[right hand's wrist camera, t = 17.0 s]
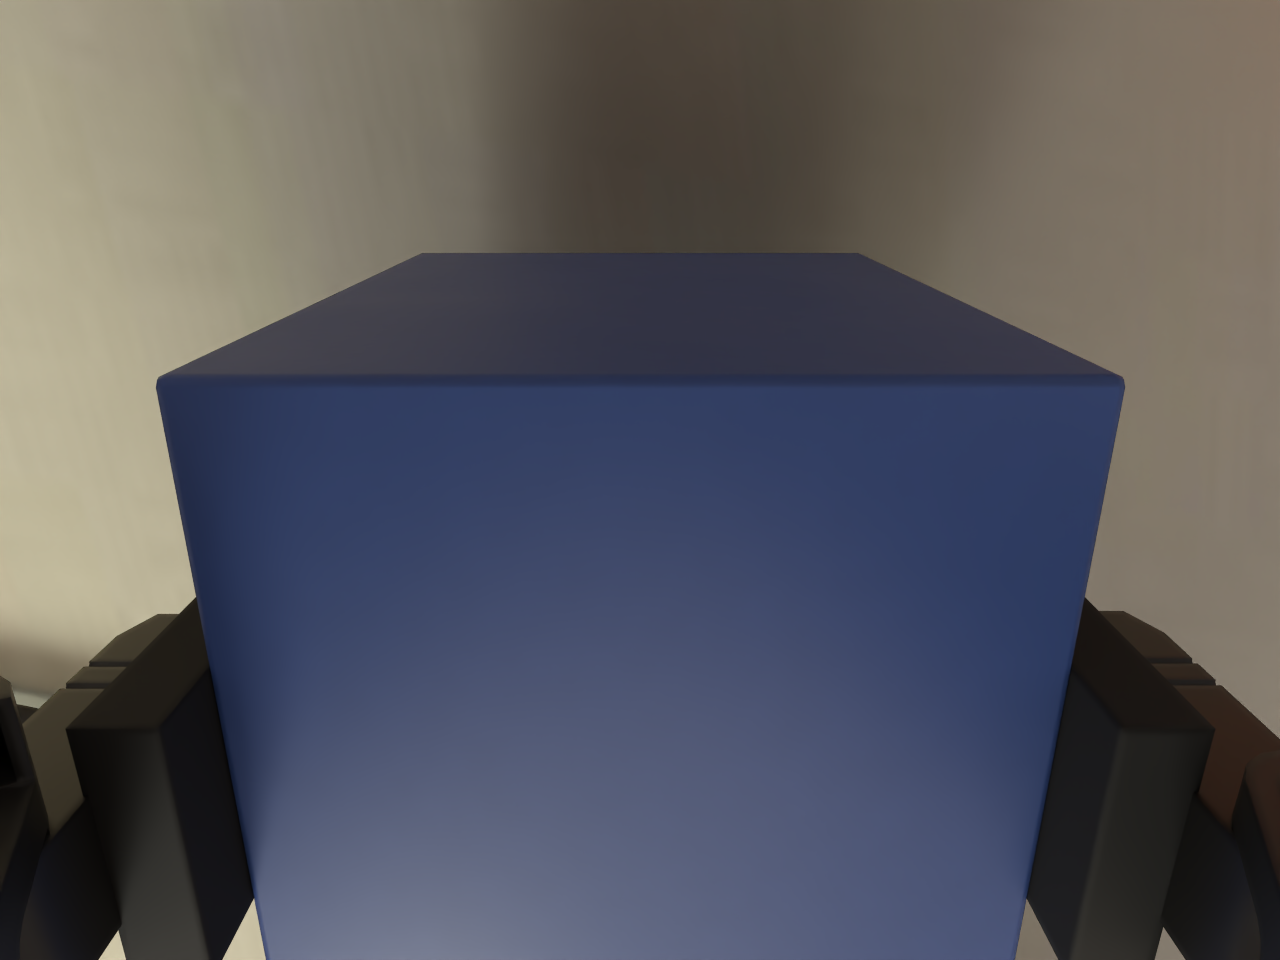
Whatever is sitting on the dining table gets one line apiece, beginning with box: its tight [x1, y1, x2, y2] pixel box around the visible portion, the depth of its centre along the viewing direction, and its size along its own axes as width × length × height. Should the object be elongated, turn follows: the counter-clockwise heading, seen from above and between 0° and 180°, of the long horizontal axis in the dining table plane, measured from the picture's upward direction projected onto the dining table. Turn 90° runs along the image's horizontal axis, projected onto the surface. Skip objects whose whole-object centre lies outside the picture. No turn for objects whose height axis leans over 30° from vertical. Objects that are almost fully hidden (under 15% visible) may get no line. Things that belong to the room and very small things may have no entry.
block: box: [156, 253, 1125, 960], centre depth 13 cm, size 8×8×9 cm
